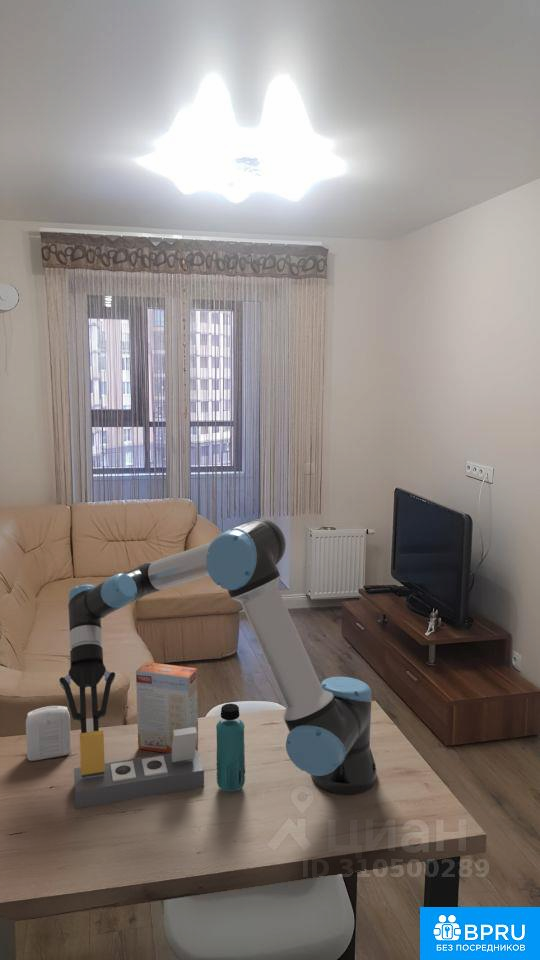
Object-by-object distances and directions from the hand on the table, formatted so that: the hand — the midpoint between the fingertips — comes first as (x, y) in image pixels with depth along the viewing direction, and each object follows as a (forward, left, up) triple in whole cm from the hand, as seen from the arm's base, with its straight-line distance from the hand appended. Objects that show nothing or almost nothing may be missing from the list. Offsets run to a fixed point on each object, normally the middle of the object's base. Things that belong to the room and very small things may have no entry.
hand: (90, 749), depth 155 cm
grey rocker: (-7, -19, -5) cm, 21 cm away
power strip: (-5, -9, -9) cm, 14 cm away
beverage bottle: (-17, -26, -10) cm, 33 cm away
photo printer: (+18, +5, -10) cm, 21 cm away
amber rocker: (-2, 0, -5) cm, 5 cm away
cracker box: (+6, -21, -10) cm, 24 cm away
